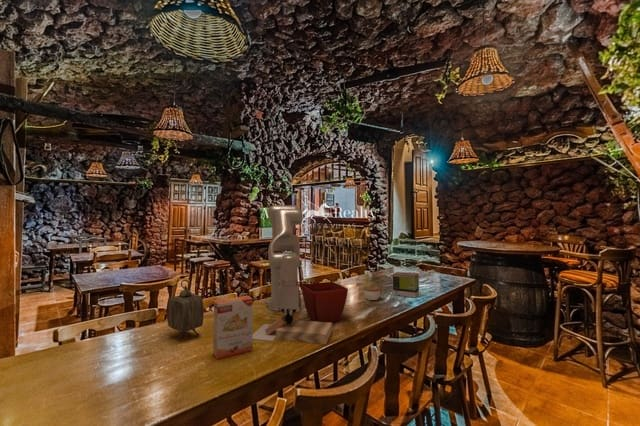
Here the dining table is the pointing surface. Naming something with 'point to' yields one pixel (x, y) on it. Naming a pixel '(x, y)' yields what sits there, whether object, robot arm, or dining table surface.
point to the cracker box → (233, 326)
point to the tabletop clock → (185, 311)
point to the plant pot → (324, 301)
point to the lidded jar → (372, 292)
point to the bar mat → (264, 334)
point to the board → (305, 331)
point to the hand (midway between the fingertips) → (289, 323)
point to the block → (276, 325)
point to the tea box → (406, 284)
